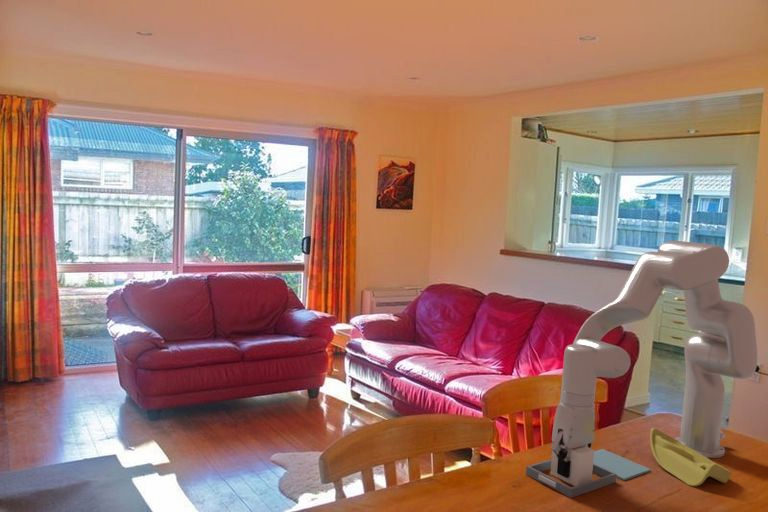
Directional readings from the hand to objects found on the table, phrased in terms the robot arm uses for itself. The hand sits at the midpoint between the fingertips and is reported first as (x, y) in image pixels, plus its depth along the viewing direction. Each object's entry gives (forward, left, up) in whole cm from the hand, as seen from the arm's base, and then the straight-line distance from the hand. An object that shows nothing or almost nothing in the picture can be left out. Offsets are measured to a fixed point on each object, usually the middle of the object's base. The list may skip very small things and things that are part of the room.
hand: (571, 472), depth 147 cm
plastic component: (-31, +11, -2) cm, 33 cm away
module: (0, 0, -2) cm, 2 cm away
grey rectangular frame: (0, 0, -2) cm, 2 cm away
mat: (-16, 0, -2) cm, 16 cm away
